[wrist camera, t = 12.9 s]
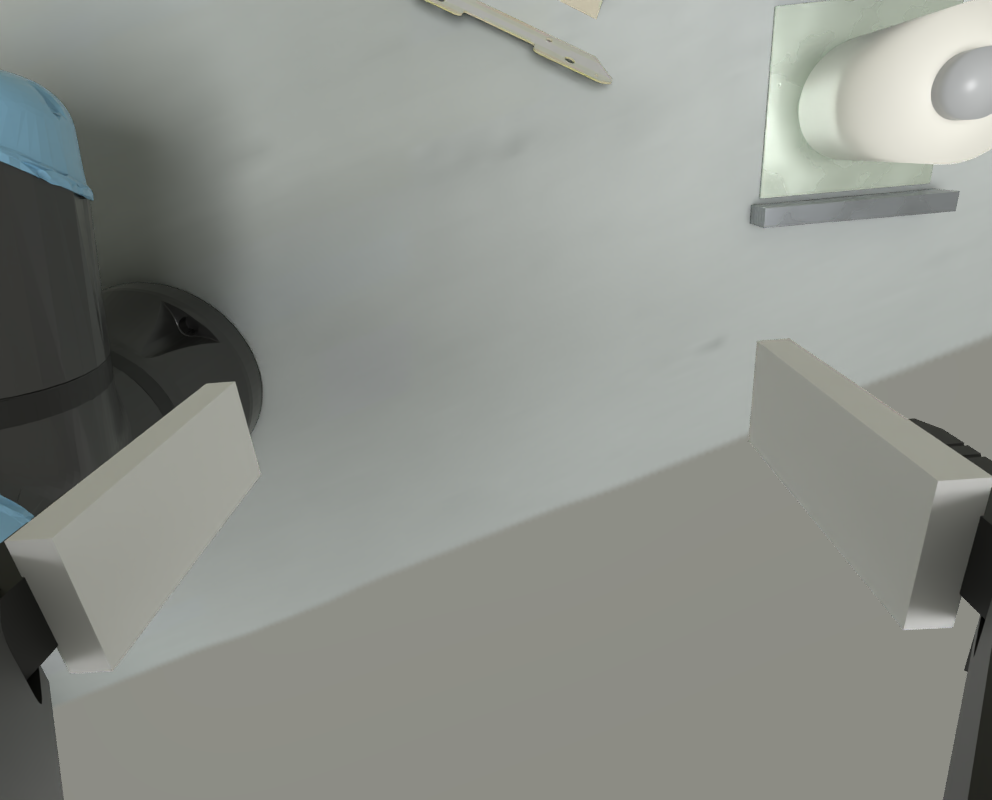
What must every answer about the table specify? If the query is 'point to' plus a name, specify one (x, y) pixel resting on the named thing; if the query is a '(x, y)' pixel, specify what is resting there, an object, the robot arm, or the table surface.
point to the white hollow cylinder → (906, 91)
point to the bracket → (537, 34)
